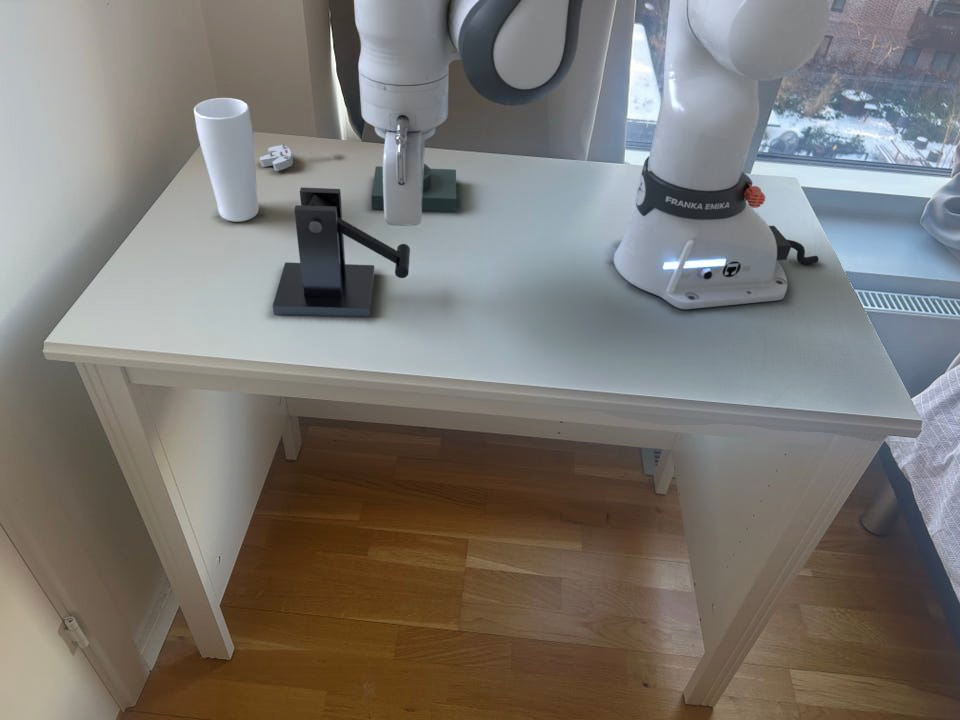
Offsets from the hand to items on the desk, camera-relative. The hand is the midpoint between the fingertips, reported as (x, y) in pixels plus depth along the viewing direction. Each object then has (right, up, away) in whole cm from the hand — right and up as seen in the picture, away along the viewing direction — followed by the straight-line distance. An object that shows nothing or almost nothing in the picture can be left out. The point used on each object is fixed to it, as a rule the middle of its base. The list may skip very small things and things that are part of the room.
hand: (407, 218), depth 84 cm
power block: (-1, +8, +26) cm, 27 cm away
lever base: (-10, -8, +6) cm, 14 cm away
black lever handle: (-6, -3, +2) cm, 7 cm away
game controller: (-20, +14, +31) cm, 40 cm away
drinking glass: (-25, +4, +19) cm, 32 cm away
